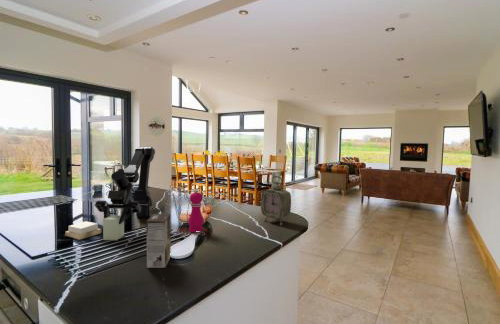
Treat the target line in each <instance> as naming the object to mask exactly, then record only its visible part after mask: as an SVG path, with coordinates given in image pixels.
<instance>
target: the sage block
mask: <svg viewBox="0 0 500 324" xmlns="http://www.w3.org/2000/svg"><path fill="white" fill-rule="evenodd" d="M120 218H121V215H114V214H113V215H112V214H111V215H110V216H108V217H106V218H104V217H103V219H102V230H103V232H102V235H103V238H102V239H103V241H118V239H120V240H121V238H122V237H124V236H125V220H124V221H123V222H122V223H121V224H119V220H120Z"/></svg>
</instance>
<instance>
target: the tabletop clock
mask: <svg viewBox="0 0 500 324" xmlns="http://www.w3.org/2000/svg"><path fill="white" fill-rule="evenodd" d="M274 178H278V179H280V180H281V181H280V182H278V180H277V181H273V179H274ZM271 181H272V183H273V185H272V187H271V188H269V189H265V190H262V192H261V197H260V208H261V210H260V211H261V214H262V215H263V216H265V217H264V218H263V221H264V222H267V220H268V219H267V218H271V219H276V222H279V226H283V225H284V223H283V222H282V219H283V218H285V217H288V216H290V213H291V209H292V208H291V207H292V194H291V192H289V191H288V190H286V189H282V186H281V185H282V183H283V178H282V177H281V176H278V175H275V176H272V177H271Z"/></svg>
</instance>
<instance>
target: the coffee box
mask: <svg viewBox="0 0 500 324" xmlns="http://www.w3.org/2000/svg"><path fill="white" fill-rule="evenodd" d="M171 238H172V237H171V214H169V213H168V214H167V213H166V214H164V213H153V214H152V215H150V217H148V219H147V220H146V268H148V269H151V268H153V269H154V268H159V269H160V268H163V269H164V268H166V267H167V265H168V264H169V263H168V262H169V260H170V258H171V257H170V253H171V251H172V250H171V249H172V248H171V241H172V240H171ZM171 254H172V253H171Z"/></svg>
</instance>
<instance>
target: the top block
mask: <svg viewBox="0 0 500 324" xmlns="http://www.w3.org/2000/svg"><path fill="white" fill-rule="evenodd" d="M98 228H99V224H98V223H96V222H93V221H92V222H91V221H87V220H85V221H81V222H78V223H75V224H71V225H68V231H69V232H73V233H77V234H84V233H87V232H90V231H93V230H96V229H98Z"/></svg>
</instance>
